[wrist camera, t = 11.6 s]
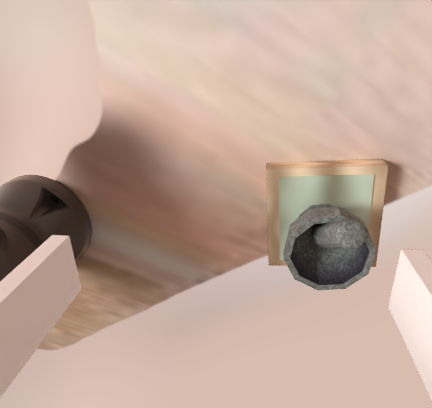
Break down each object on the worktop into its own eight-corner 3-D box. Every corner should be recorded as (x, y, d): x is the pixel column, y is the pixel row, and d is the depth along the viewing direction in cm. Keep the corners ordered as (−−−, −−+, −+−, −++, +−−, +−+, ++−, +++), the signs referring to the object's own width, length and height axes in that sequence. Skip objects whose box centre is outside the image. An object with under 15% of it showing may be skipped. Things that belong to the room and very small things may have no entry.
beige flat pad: (268, 255, 50) (268, 266, 48) (266, 163, 45) (266, 170, 42) (370, 256, 48) (376, 267, 46) (382, 159, 42) (389, 166, 40)
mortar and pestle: (346, 263, 46) (370, 331, 35) (276, 251, 47) (278, 313, 36) (373, 186, 41) (410, 236, 30) (295, 173, 42) (303, 218, 31)
